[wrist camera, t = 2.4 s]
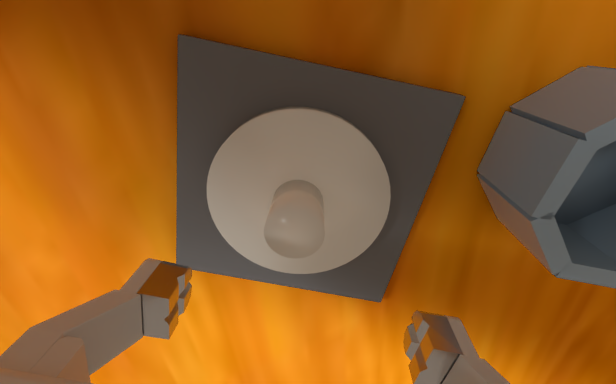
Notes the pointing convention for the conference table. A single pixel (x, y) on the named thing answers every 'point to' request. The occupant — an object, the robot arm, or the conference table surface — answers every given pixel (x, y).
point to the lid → (298, 190)
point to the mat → (316, 94)
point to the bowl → (560, 175)
